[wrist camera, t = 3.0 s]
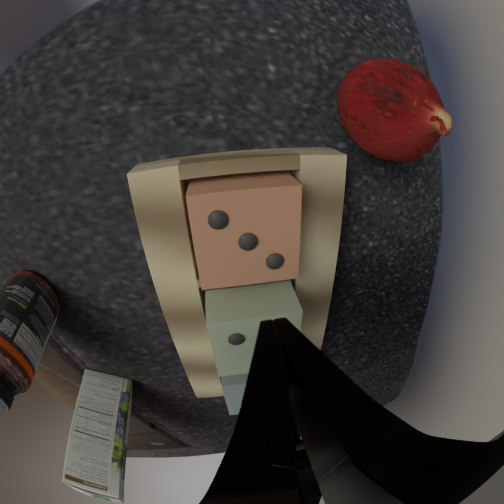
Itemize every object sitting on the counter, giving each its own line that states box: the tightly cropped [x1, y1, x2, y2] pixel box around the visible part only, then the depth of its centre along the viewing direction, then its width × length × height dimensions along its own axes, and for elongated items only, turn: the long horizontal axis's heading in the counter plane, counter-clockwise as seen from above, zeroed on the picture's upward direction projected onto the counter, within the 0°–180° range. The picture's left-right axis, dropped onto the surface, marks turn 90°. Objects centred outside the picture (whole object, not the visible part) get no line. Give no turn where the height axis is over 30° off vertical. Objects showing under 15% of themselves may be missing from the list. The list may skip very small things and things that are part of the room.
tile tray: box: [127, 147, 347, 398], centre depth 20 cm, size 22×12×2 cm, turn 2°
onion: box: [338, 58, 453, 162], centre depth 11 cm, size 6×6×8 cm
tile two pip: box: [205, 280, 303, 377], centre depth 18 cm, size 6×6×3 cm
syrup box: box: [62, 369, 132, 503], centre depth 20 cm, size 6×6×14 cm
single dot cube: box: [221, 373, 248, 415], centre depth 21 cm, size 6×6×3 cm
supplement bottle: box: [0, 270, 60, 411], centre depth 13 cm, size 6×6×11 cm
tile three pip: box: [186, 171, 302, 290], centre depth 15 cm, size 6×6×3 cm
